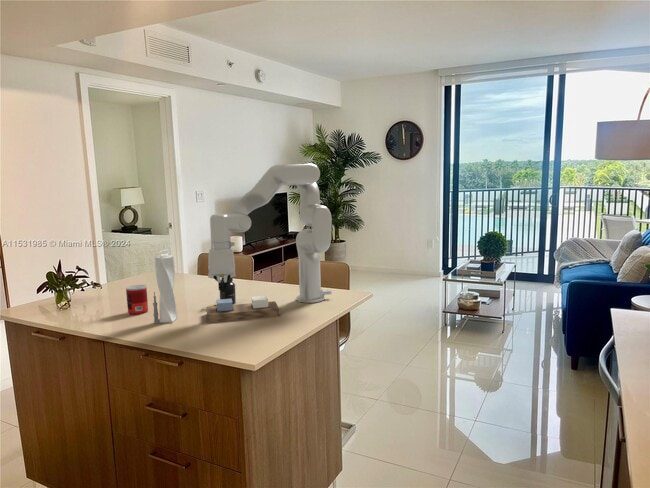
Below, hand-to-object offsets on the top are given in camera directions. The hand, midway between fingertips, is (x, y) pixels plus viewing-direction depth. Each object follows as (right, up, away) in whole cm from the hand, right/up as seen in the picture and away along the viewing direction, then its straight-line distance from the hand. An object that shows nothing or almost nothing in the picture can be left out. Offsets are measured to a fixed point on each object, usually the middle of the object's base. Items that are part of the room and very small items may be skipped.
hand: (222, 291), depth 189 cm
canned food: (-38, -10, +11) cm, 40 cm away
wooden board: (+7, -10, +3) cm, 13 cm away
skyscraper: (-21, -12, -1) cm, 24 cm away
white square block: (+14, -6, +5) cm, 16 cm away
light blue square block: (+1, -7, +1) cm, 7 cm away
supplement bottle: (-2, -8, +22) cm, 23 cm away
